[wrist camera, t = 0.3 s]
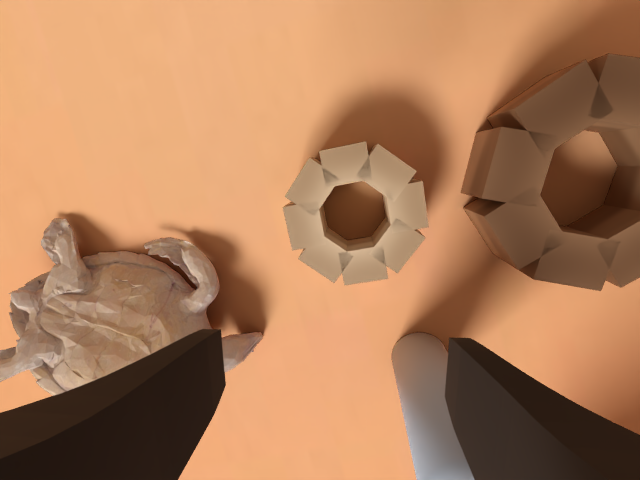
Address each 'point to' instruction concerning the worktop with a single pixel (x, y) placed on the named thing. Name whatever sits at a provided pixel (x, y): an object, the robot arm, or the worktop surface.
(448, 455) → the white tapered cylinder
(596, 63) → the brown segmented ring
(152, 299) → the turtle
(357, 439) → the worktop surface
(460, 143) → the worktop surface
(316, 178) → the beige notched ring
